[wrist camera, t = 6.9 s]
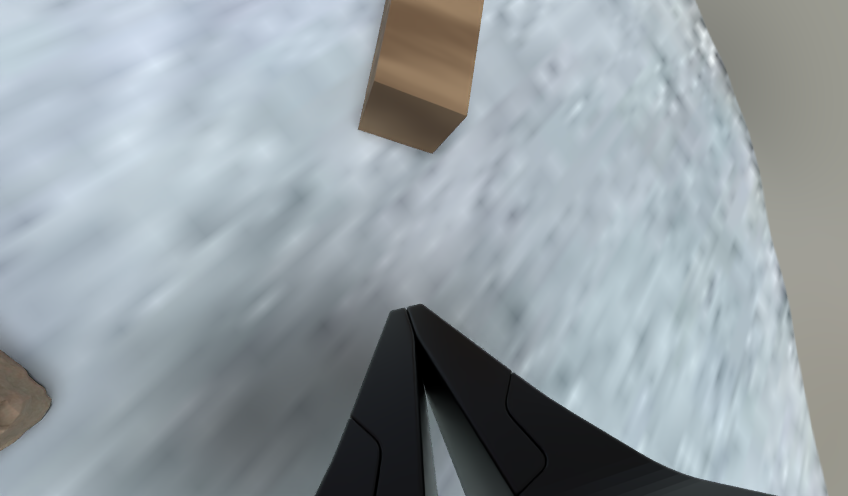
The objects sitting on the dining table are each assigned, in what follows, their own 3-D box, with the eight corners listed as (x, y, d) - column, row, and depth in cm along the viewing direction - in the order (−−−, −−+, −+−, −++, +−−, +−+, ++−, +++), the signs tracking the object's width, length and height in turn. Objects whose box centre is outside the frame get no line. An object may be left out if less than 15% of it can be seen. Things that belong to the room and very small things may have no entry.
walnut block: (467, 116, 17) (493, -65, 19) (374, 80, 15) (414, -112, 18) (432, 153, 22) (456, 4, 24) (358, 129, 20) (391, -28, 22)
